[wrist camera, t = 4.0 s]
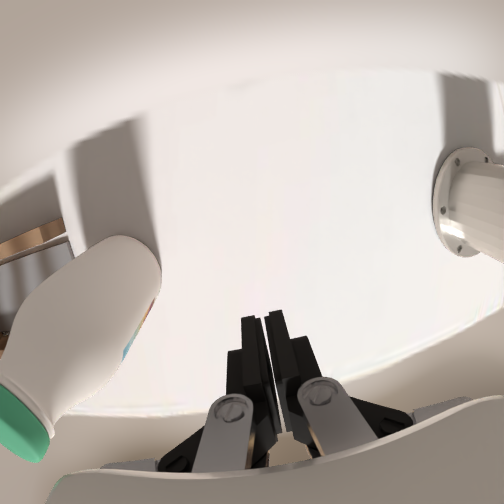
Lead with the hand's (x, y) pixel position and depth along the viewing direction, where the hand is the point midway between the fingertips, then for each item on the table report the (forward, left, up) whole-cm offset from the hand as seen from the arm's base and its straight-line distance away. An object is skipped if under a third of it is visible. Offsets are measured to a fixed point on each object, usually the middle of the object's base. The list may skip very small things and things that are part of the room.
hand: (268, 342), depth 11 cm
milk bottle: (+12, 0, -14) cm, 19 cm away
